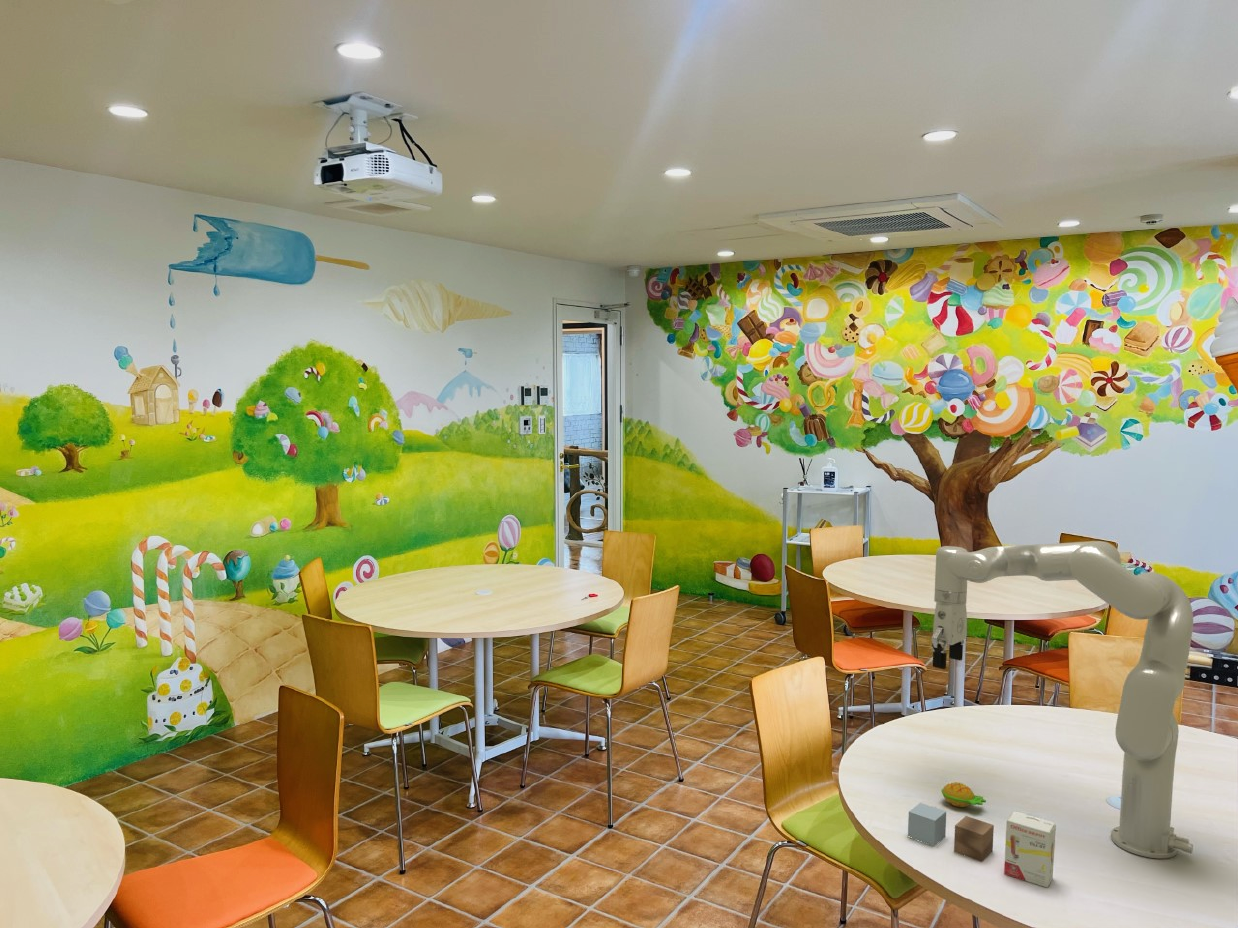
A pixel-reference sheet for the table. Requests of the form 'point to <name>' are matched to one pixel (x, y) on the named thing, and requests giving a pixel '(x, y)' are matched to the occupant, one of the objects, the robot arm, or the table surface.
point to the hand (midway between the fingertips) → (947, 663)
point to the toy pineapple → (961, 795)
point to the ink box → (1029, 848)
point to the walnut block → (973, 838)
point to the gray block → (927, 824)
